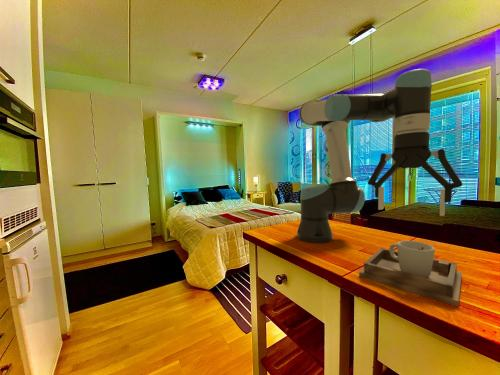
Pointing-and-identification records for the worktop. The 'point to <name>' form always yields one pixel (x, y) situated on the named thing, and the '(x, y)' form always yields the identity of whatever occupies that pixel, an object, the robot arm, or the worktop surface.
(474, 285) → the worktop surface
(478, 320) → the worktop surface
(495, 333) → the worktop surface
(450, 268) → the square wooden tray
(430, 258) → the cup
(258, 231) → the worktop surface
